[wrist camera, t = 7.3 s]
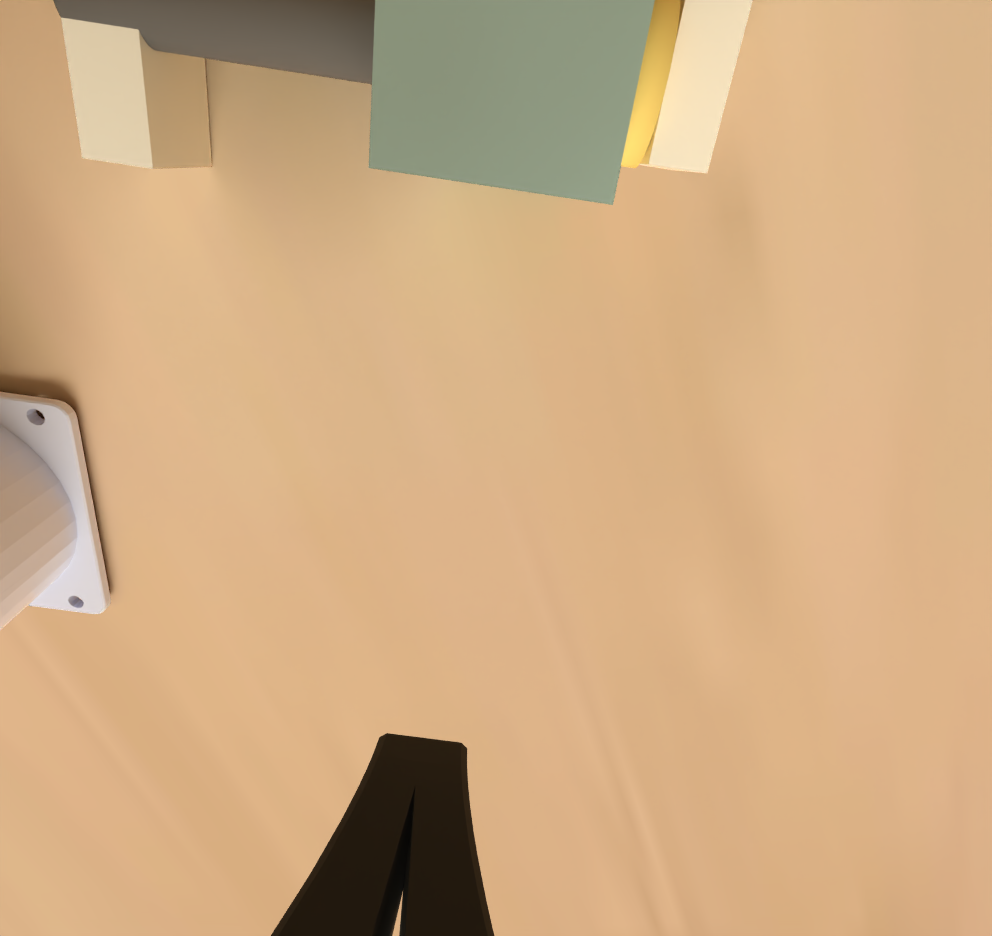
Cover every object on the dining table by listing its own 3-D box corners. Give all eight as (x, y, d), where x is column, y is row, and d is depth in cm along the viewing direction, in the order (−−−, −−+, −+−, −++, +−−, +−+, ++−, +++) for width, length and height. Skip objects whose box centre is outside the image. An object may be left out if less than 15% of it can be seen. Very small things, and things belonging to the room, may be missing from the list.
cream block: (625, 162, 15) (648, 164, 12) (655, 15, 14) (689, -22, 11) (672, 170, 15) (707, 173, 12) (707, 24, 14) (755, -11, 11)
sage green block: (422, 163, 15) (368, 167, 10) (438, -63, 13) (383, -207, 8) (582, 188, 15) (612, 205, 10) (622, -34, 13) (686, -157, 8)
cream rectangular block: (152, 157, 16) (81, 158, 13) (119, -160, 13) (22, -236, 10) (211, 166, 16) (153, 169, 13) (191, -149, 13) (112, -221, 10)
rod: (131, 91, 14) (35, 76, 12) (112, -84, 13) (-3, -152, 10) (677, 175, 15) (714, 179, 12) (716, 12, 13) (769, -26, 11)
